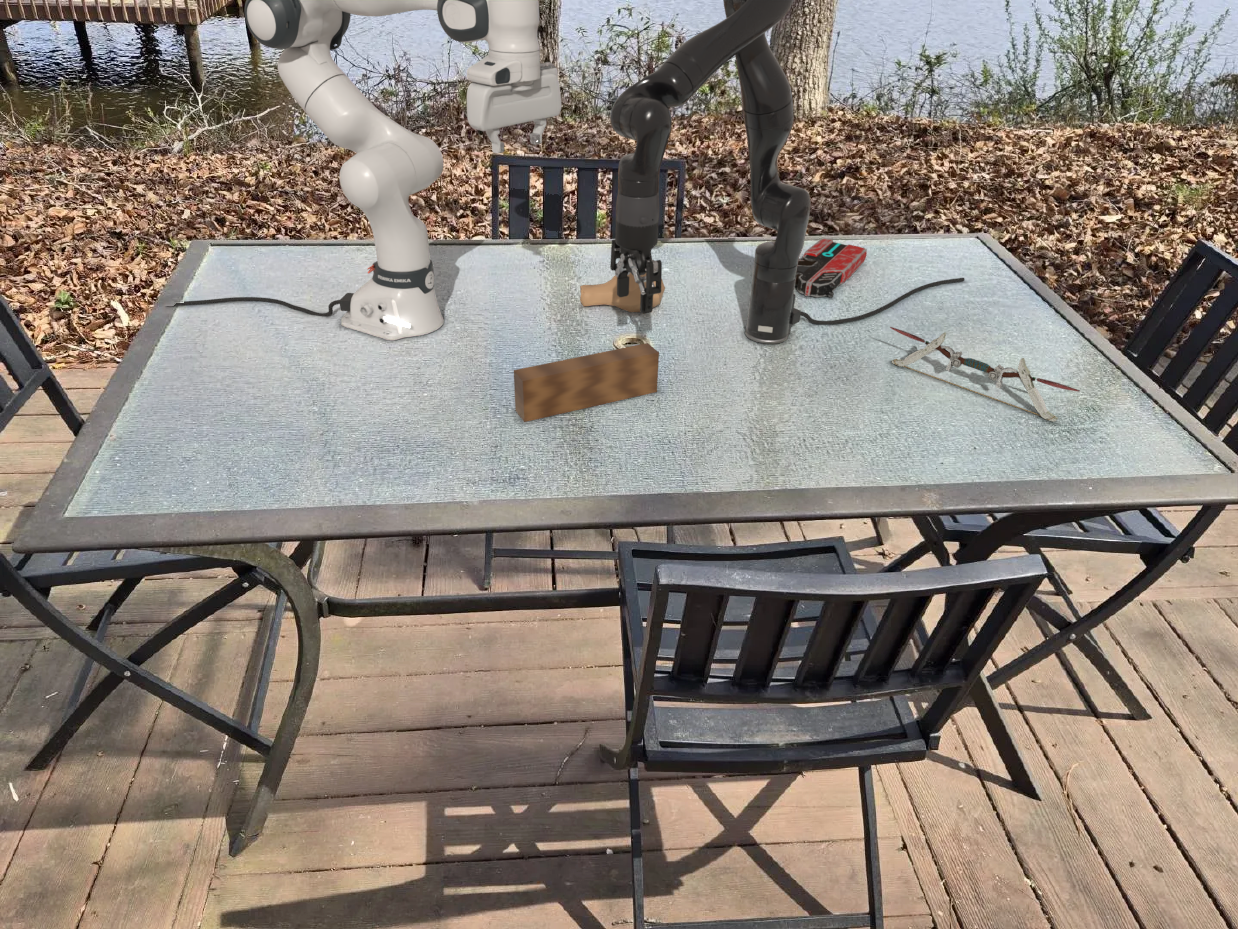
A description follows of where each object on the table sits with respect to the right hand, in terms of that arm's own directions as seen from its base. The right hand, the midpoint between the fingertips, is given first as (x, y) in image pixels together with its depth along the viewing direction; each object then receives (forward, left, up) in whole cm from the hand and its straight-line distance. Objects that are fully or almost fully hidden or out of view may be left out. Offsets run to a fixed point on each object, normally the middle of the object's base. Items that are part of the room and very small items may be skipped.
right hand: (634, 304), depth 162 cm
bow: (-53, +43, -18) cm, 71 cm away
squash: (-26, -32, -18) cm, 45 cm away
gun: (-79, -16, -18) cm, 83 cm away
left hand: (+6, -27, +24) cm, 36 cm away
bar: (+9, -3, -18) cm, 21 cm away
